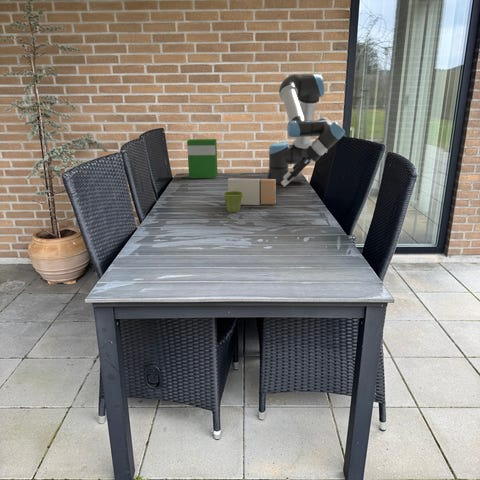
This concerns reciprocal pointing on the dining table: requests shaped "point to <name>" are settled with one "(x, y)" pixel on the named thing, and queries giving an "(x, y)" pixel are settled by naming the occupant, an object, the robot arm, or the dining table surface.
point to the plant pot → (233, 200)
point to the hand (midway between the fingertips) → (283, 181)
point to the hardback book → (202, 158)
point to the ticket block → (247, 190)
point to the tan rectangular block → (268, 191)
